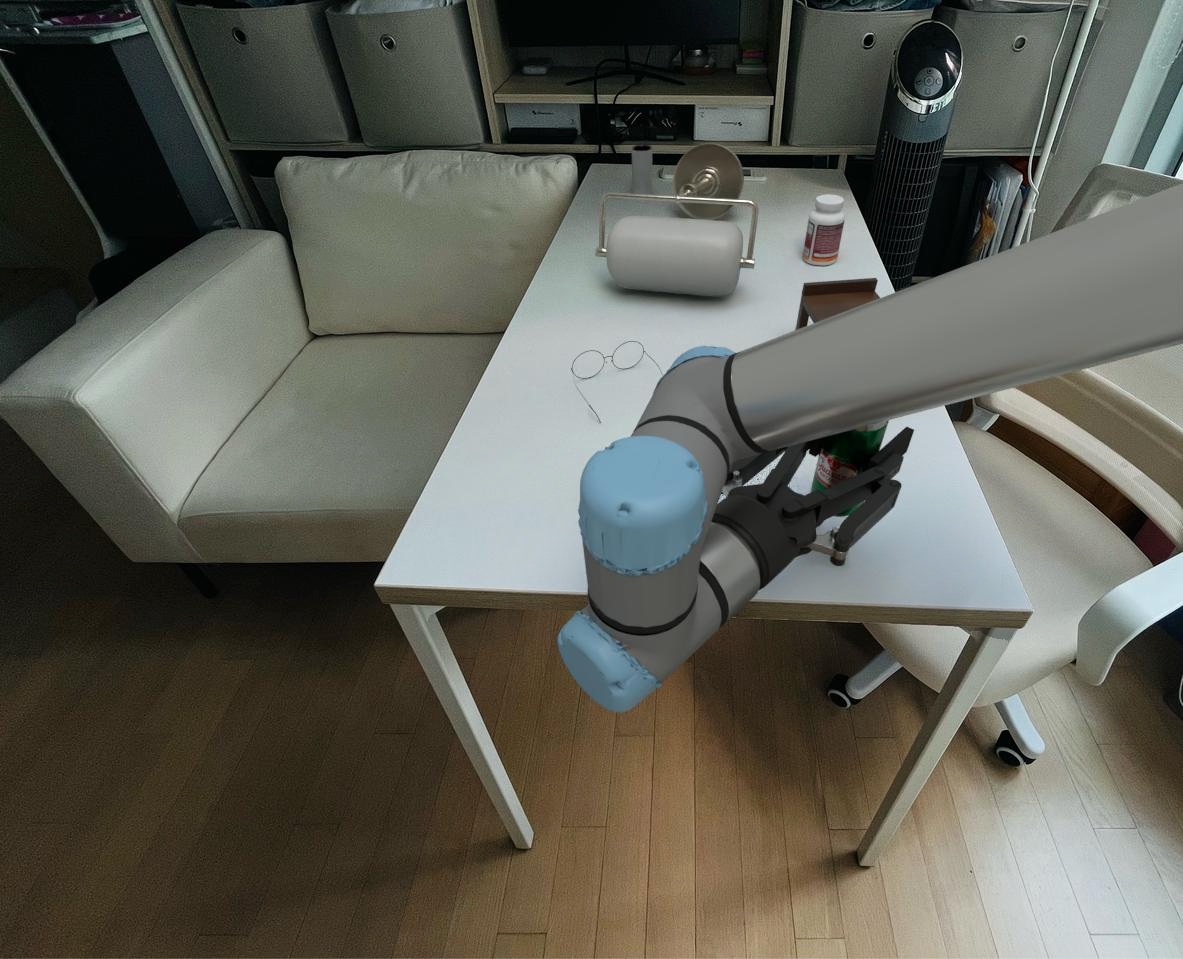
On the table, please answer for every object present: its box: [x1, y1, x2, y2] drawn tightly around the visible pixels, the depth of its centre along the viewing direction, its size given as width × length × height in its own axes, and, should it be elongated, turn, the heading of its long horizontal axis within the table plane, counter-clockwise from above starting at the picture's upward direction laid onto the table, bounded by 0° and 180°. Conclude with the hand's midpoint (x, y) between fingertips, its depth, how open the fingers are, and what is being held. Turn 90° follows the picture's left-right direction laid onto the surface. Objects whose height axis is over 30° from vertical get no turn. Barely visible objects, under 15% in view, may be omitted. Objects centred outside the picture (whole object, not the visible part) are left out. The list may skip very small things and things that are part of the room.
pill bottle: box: [802, 193, 846, 267], centre depth 119 cm, size 6×6×11 cm
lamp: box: [594, 142, 759, 297], centre depth 121 cm, size 27×23×40 cm
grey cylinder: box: [631, 144, 653, 195], centre depth 148 cm, size 4×4×10 cm
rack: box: [795, 277, 881, 330], centre depth 90 cm, size 14×10×12 cm
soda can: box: [809, 420, 890, 518], centre depth 62 cm, size 5×5×12 cm
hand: (878, 426), depth 64 cm, fingers closed on soda can, 5 cm apart
